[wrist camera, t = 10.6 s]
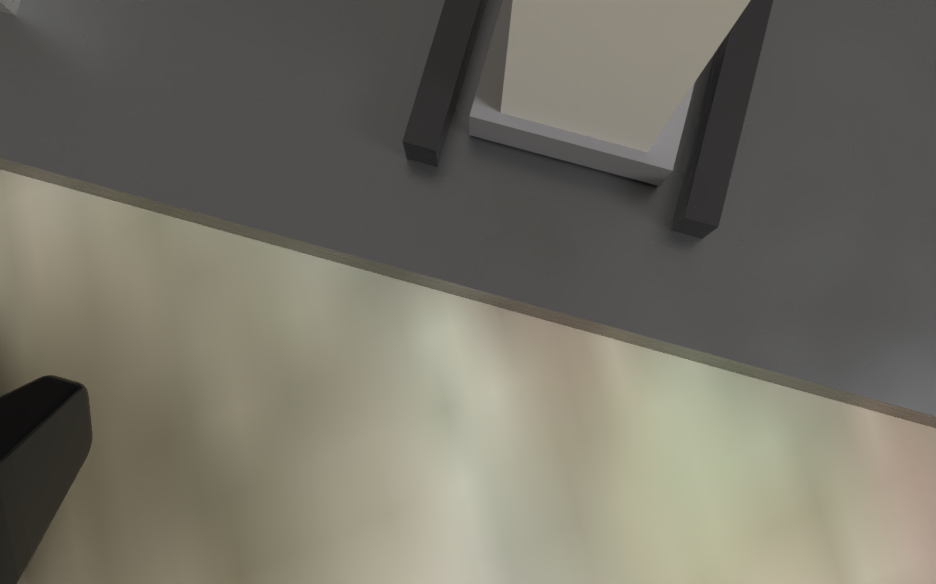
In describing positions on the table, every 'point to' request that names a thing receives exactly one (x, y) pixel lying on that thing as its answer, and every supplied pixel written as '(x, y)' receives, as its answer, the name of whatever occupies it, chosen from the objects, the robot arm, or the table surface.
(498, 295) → the breaker panel
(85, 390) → the robot arm
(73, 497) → the table surface
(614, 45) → the breaker handle
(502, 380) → the table surface
